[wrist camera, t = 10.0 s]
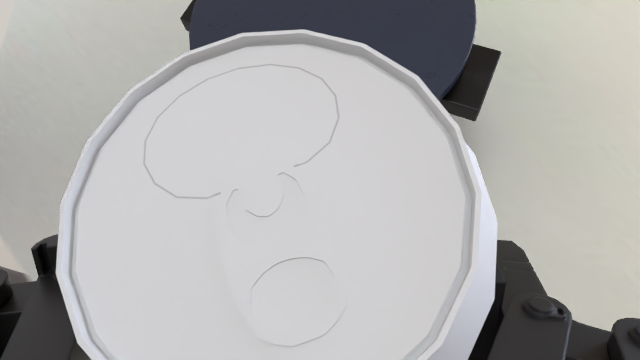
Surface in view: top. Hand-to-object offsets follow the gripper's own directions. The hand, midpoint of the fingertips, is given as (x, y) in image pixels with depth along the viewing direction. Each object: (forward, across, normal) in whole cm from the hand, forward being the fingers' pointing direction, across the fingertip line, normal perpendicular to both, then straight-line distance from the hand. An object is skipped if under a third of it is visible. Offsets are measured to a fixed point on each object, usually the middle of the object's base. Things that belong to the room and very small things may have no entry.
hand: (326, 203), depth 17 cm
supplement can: (+2, 0, -6) cm, 7 cm away
